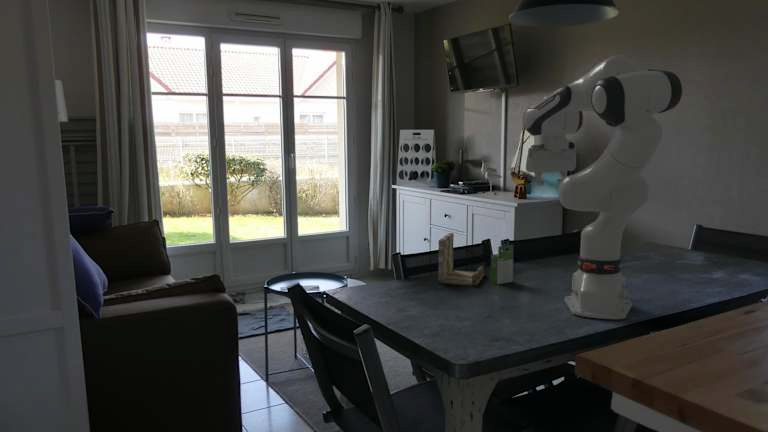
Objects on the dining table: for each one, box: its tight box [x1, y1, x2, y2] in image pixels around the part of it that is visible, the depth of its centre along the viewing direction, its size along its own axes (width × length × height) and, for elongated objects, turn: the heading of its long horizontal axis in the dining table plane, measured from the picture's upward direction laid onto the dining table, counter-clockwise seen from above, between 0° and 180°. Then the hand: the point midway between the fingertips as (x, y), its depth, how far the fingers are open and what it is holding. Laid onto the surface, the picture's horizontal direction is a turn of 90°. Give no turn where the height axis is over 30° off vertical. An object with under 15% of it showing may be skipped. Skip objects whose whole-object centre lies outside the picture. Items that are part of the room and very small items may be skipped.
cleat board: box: [437, 232, 485, 287], centre depth 200 cm, size 16×13×15 cm
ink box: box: [489, 244, 514, 285], centre depth 195 cm, size 7×4×13 cm, turn 118°
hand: (550, 185), depth 193 cm, fingers open, 8 cm apart
